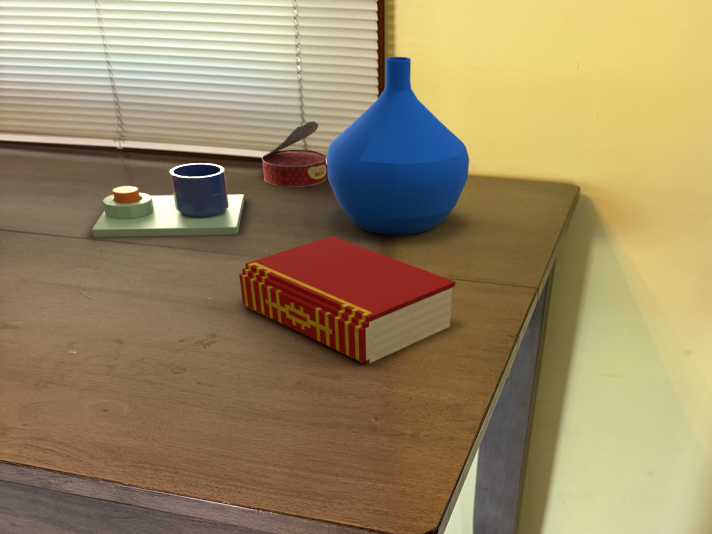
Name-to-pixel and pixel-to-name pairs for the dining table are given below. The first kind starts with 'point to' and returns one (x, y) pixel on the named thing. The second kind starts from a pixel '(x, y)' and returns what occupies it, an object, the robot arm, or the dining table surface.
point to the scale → (163, 218)
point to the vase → (397, 162)
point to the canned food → (295, 162)
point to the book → (348, 297)
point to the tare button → (126, 194)
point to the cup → (199, 189)
